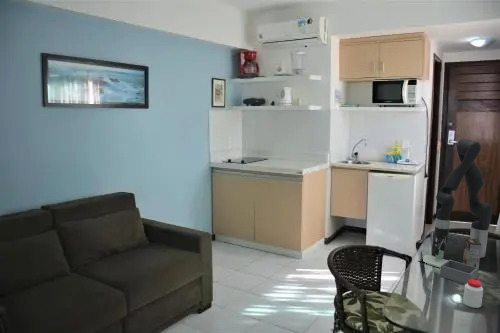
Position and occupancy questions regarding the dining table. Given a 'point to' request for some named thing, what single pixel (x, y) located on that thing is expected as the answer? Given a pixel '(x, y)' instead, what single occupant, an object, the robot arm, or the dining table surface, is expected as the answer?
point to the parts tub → (458, 271)
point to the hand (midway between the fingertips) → (439, 252)
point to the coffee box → (472, 252)
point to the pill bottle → (473, 293)
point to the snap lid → (435, 259)
